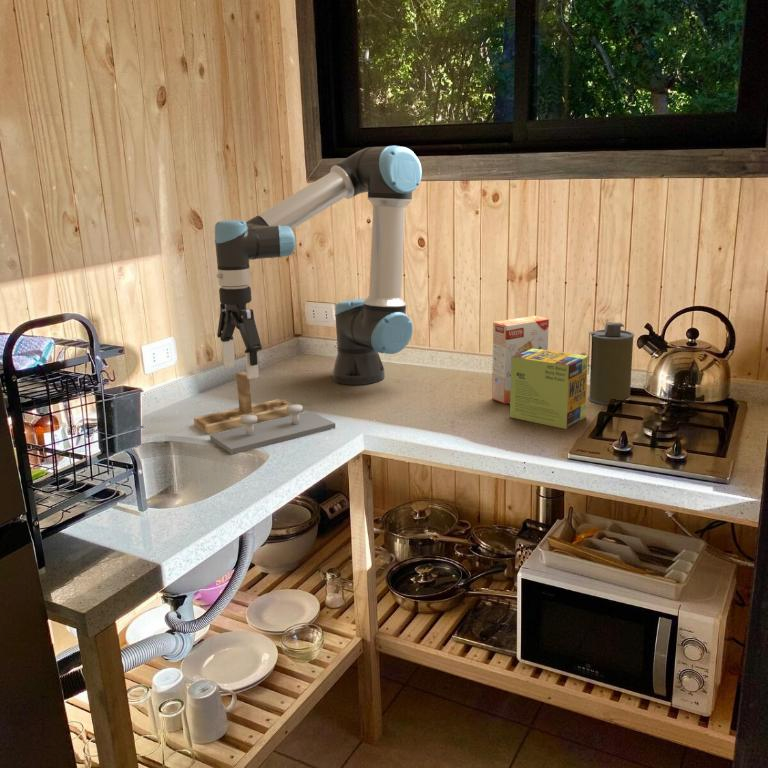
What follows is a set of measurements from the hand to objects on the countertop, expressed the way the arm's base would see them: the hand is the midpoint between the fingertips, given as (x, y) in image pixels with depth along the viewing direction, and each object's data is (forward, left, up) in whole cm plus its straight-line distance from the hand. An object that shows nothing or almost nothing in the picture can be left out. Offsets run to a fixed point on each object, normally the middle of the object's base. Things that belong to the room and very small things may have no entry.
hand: (240, 372), depth 197 cm
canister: (-80, +47, -13) cm, 94 cm away
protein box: (-58, +47, -13) cm, 76 cm away
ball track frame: (0, 0, -12) cm, 12 cm away
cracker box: (-64, +31, -13) cm, 72 cm away
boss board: (-1, +14, -12) cm, 19 cm away
